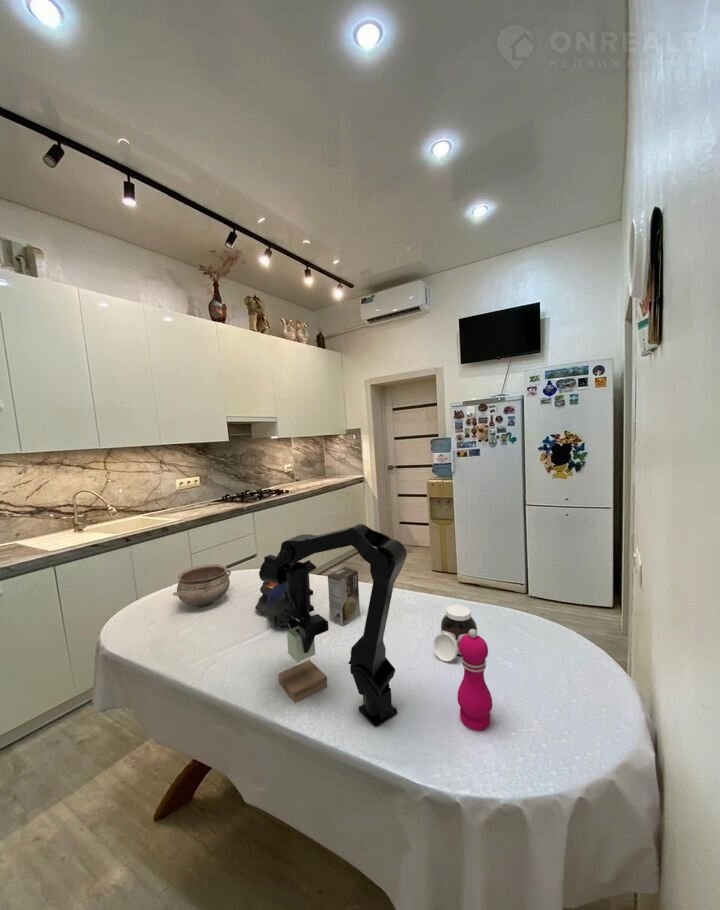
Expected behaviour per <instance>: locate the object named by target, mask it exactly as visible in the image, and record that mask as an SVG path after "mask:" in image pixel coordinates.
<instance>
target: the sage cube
mask: <svg viewBox="0 0 720 910" xmlns="http://www.w3.org/2000/svg"><path fill="white" fill-rule="evenodd" d="M297 629H298V626H297V627H294V628H292V629H287V630H286V637H287V639H286V640H287V654H289V656H290V657H291V658H292V659H293V660H294V661H295V662H296V663H297V664H298V663H301V662H302V661H305V660H306V659H308V658H311V657H313V656H316V648H315V647H316V644H315V643H316V642H315V639H314V640H313V643H312V645H311V647H310V650H309V652H307V653H304V650H303V645H302V640H301V636H300V635H299V634H298V633H297V632H296V631H295V630H297Z"/></svg>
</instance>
